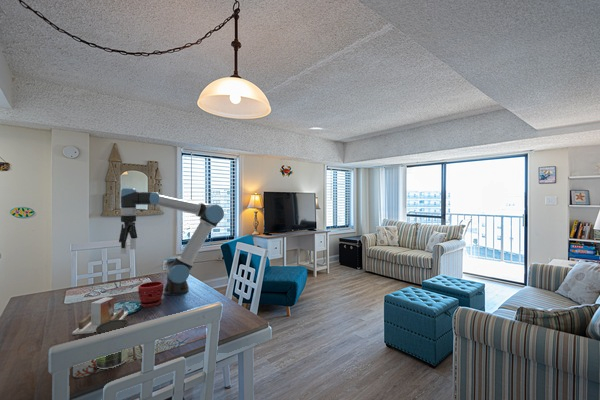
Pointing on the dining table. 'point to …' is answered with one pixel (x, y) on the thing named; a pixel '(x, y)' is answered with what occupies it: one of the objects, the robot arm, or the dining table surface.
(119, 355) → the coffee can
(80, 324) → the holder
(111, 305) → the small box
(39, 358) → the dining table surface
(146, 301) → the plant pot
